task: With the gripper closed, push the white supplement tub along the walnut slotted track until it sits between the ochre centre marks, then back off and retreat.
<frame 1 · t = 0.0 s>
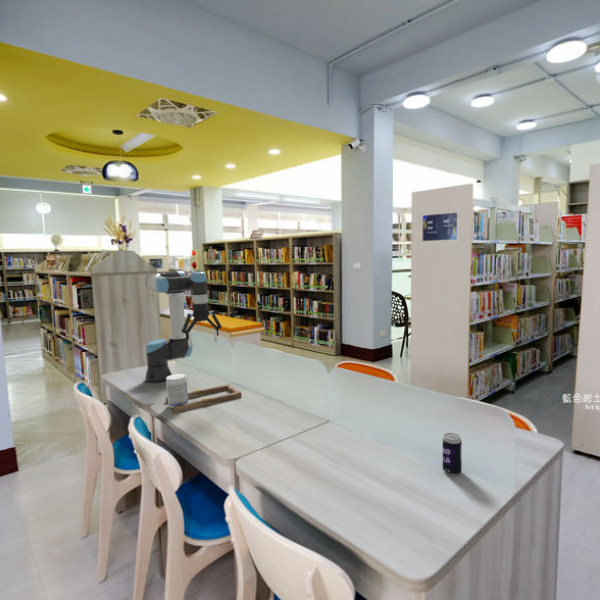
hand: (203, 344, 202), 28 cm above the table, fingers open, 13 cm apart
supplement tub: (178, 405, 195), on the table
beverage can: (451, 472, 128), on the table
beam track: (202, 399, 201), on the table
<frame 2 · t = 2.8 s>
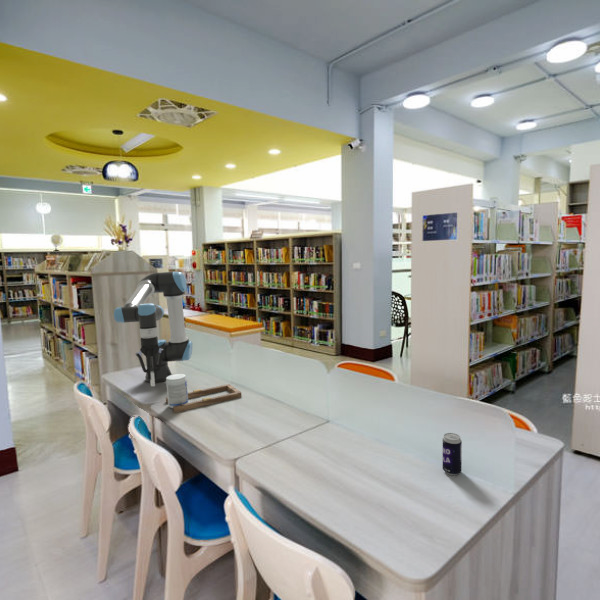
hand: (152, 385, 188), 12 cm above the table, fingers closed
nothing on the table moved.
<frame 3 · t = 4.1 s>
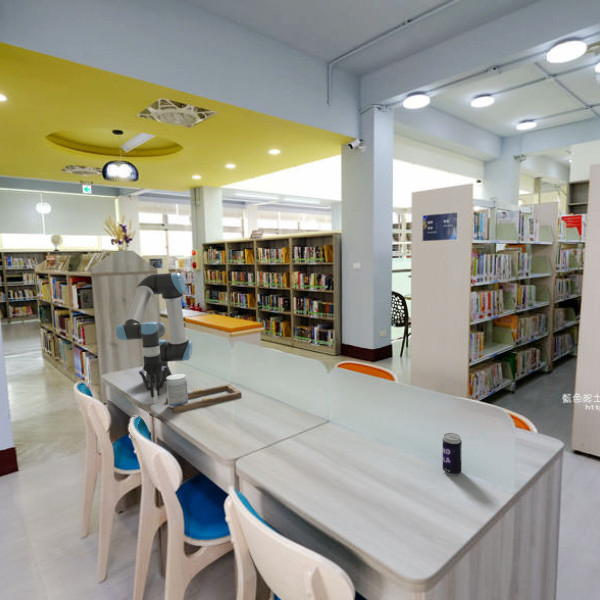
hand: (155, 402, 189), 4 cm above the table, fingers closed
nothing on the table moved.
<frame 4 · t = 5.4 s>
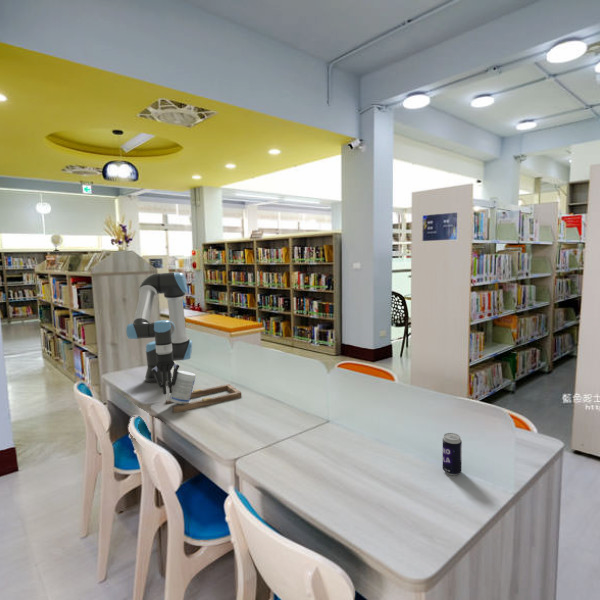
hand: (168, 400, 192), 4 cm above the table, fingers closed
supplement tub: (178, 402, 195), point 1 cm above the table, touching gripper, hand
everything else where it was.
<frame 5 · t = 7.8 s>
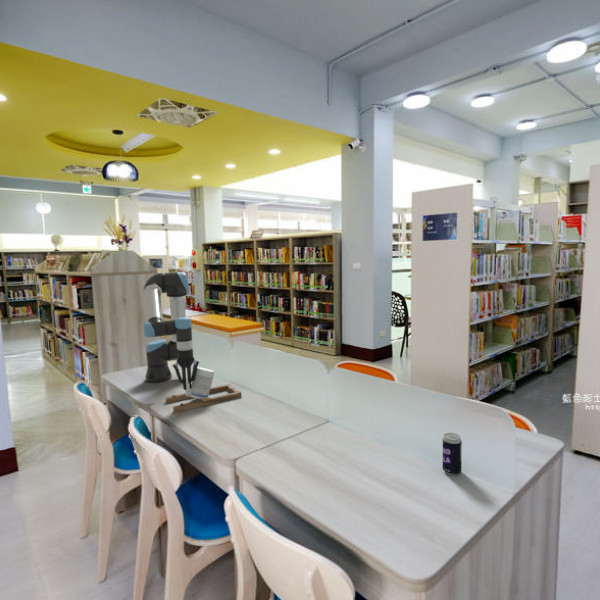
hand: (187, 395, 197), 4 cm above the table, fingers closed
supplement tub: (197, 398, 200), point 1 cm above the table, touching gripper, hand
everything else where it was.
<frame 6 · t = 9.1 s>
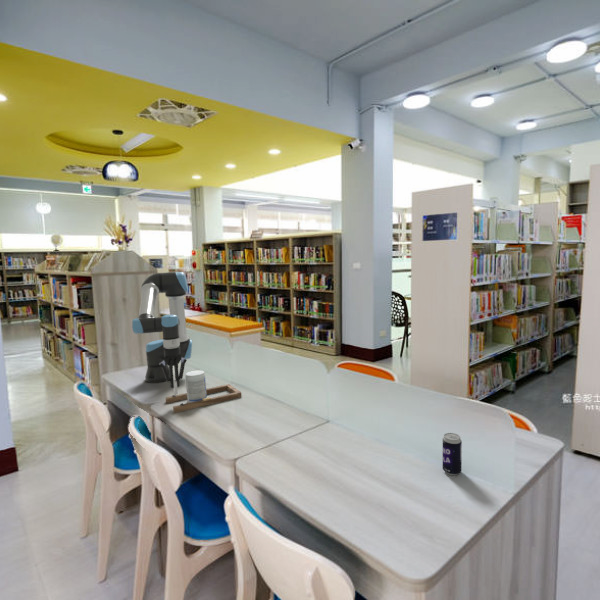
hand: (175, 393, 194), 6 cm above the table, fingers closed
supplement tub: (197, 401, 200), on the table
everything else where it was.
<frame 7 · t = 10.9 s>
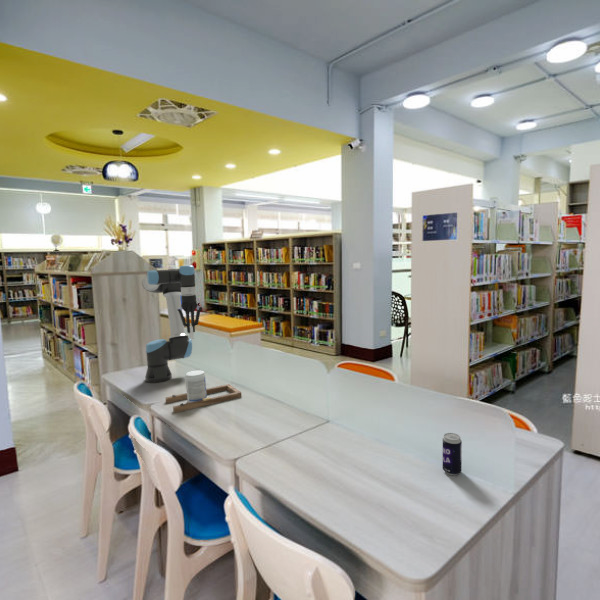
hand: (191, 338, 212), 29 cm above the table, fingers closed
nothing on the table moved.
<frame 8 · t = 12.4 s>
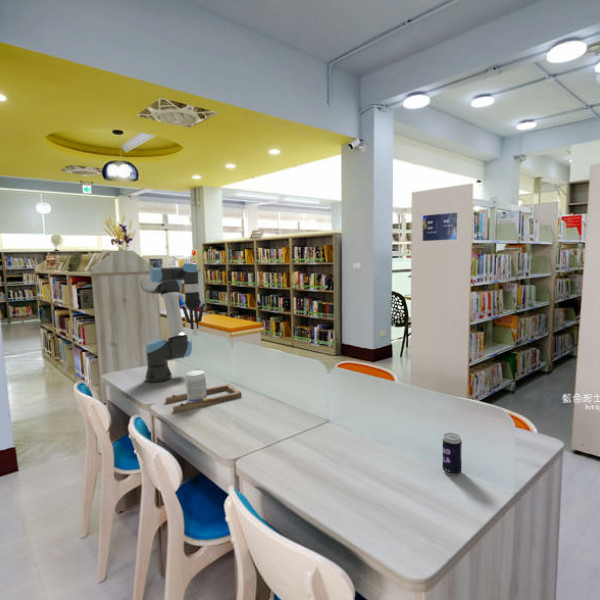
hand: (195, 334, 215), 30 cm above the table, fingers closed
nothing on the table moved.
at the end: supplement tub inside the target area (2.8 cm from its centre), on the table; supplement tub tilted 0°; supplement tub touching table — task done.
